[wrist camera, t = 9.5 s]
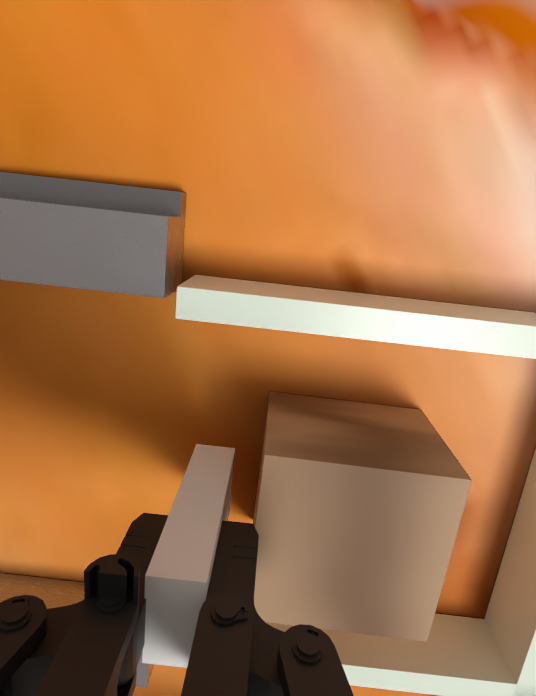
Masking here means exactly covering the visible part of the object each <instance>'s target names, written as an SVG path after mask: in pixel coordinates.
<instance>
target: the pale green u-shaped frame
mask: <svg viewBox="0 0 536 696" xmlns="http://www.w3.org/2000/svg"><path fill="white" fill-rule="evenodd" d="M176 319H185V320H194V321H202V322H211V323H220V324H229V325H238V326H247V327H256V328H265V329H274V330H283V331H292V332H301V333H310V334H319V335H327V336H336V337H345V338H354V339H363V340H372V341H381V342H390V343H399V344H408V345H417V346H426V347H435V348H443V349H452V350H461V351H470V352H479V353H488V354H497V355H506V356H515V357H524V358H533V359H536V313H535V312H526V311H517V310H508V309H499V308H490V307H481V306H472V305H463V304H454V303H445V302H436V301H427V300H418V299H409V298H400V297H391V296H382V295H373V294H364V293H356V292H347V291H338V290H329V289H320V288H311V287H302V286H293V285H284V284H275V283H266V282H257V281H248V280H239V279H230V278H221V277H212V276H203V275H194V276H193V277H191V278H190V279H188V280H186V281H185V282H183V283H182V284H180V285H179V286H177V298H176ZM266 623H267V624H269V625H270V626H272V627H274V628H276V629H279V630H281V631H283V632H285V631H287V630H288V629H289V628H290V627H292V626H293V625H285V624H277V623H268V622H266ZM321 630H322V631H323V632H325V633H326V634H327V635H328V636H329V637H330V639H331V640H332V642H333V644H334V645H335V648H336V650H337V653H338V656H339V658H340V661H341V664H342V666H343V669H344V672H345V674H346V677H347V680H348V682H349V685H353V686H362V687H370V688H379V689H388V690H397V691H405V692H414V693H423V694H432V695H440V696H536V449H535V452H534V455H533V459H532V462H531V465H530V469H529V472H528V475H527V479H526V482H525V485H524V489H523V492H522V495H521V499H520V502H519V505H518V509H517V512H516V515H515V519H514V522H513V525H512V529H511V532H510V535H509V539H508V542H507V545H506V549H505V552H504V555H503V558H502V562H501V565H500V568H499V572H498V575H497V578H496V582H495V585H494V588H493V592H492V595H491V598H490V602H489V605H488V608H487V612H486V615H485V618H484V619H479V618H471V617H462V616H453V615H444V614H435V615H434V619H433V622H432V626H431V630H430V633H429V637H428V641H427V642H424V641H416V640H408V639H399V638H391V637H383V636H375V635H367V634H359V633H350V632H342V631H334V630H326V629H321Z"/></svg>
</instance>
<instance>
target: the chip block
mask: <svg viewBox="0 0 536 696" xmlns="http://www.w3.org/2000/svg"><path fill="white" fill-rule="evenodd" d="M471 481H472V480H471V478H470V477H469V476H468V474H467V473H466V471H465V470H464V469H463V467H462V466H461V464H460V463H459V462H458V460H457V459H456V457H455V456H454V455H453V453H452V452H451V450H450V449H449V448H448V446H447V445H446V443H445V442H444V441H443V439H442V438H441V436H440V435H439V434H438V432H437V431H436V430H435V428H434V427H433V425H432V424H431V423H430V421H429V420H428V418H427V417H426V416H425V414H424V413H423V411H422V410H420V409H412V408H403V407H395V406H387V405H379V404H371V403H363V402H355V401H346V400H338V399H330V398H322V397H314V396H306V395H297V394H289V393H281V392H273V391H270V393H269V401H268V409H267V416H266V424H265V432H264V440H263V448H262V456H261V463H260V471H259V479H258V487H257V495H256V503H255V511H254V518H253V524H254V526H255V529H256V531H257V533H258V535H259V541H258V553H257V566H256V578H255V591H254V606H255V609H256V611H257V613H258V615H259V616H260V617H261V619H263V620H264V621H265V622H268V623H277V624H285V625H293V626H296V625H299V624H303V625H312V626H314V627H317V628H319V629H326V630H334V631H342V632H350V633H359V634H367V635H375V636H383V637H391V638H399V639H408V640H416V641H424V642H427V641H428V637H429V633H430V630H431V626H432V622H433V619H434V615H435V612H436V608H437V604H438V601H439V597H440V593H441V590H442V586H443V583H444V579H445V575H446V572H447V568H448V564H449V561H450V557H451V554H452V550H453V546H454V543H455V539H456V535H457V532H458V528H459V525H460V521H461V517H462V514H463V510H464V507H465V503H466V499H467V496H468V492H469V488H470V485H471Z"/></svg>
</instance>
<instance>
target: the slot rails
mask: <svg viewBox="0 0 536 696" xmlns="http://www.w3.org/2000/svg"><path fill="white" fill-rule="evenodd" d="M185 208H186V193H184V192H178V191H169V190H160V189H151V188H142V187H133V186H124V185H115V184H106V183H97V182H88V181H79V180H70V179H61V178H52V177H43V176H34V175H25V174H16V173H7V172H0V280H7V281H16V282H25V283H34V284H43V285H52V286H61V287H70V288H79V289H88V290H97V291H106V292H114V293H123V294H132V295H141V296H150V297H159V298H165V297H167V296H168V295H170V294H171V293H173V292H174V291H175V290H177V286H179V285H180V284H181V282H182V264H183V245H184V227H185ZM21 595H32V596H37V597H38V598H40V599H41V600H43V601H44V603H45V605H46V608H47V609H50V608H56V607H62V606H68V605H72V604H76V603H78V602H80V601H82V600H84V582H76V581H67V580H58V579H49V578H41V577H32V576H23V575H14V574H5V573H0V603H1V602H2V601H4V600H7V599H9V598H12V597H14V596H21ZM142 654H143V650H142V653H141V656H140V659H139V662H138V665H137V678H136V686H142V687H147V686H148V683H149V679H150V676H151V672H152V669H153V665H154V664H148V663H142Z"/></svg>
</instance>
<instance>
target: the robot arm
mask: <svg viewBox="0 0 536 696" xmlns="http://www.w3.org/2000/svg"><path fill="white" fill-rule="evenodd" d="M234 456H235V448H229V447H220V446H211V445H202V444H196V446H195V449H194V451H193V454H192V456H191V459H190V461H189V464H188V467H187V469H186V472H185V474H184V477H183V479H182V482H181V485H180V487H179V490H178V492H177V495H176V497H175V500H174V503H173V505H172V508H171V510H170V513H169V515H158V514H149V513H143V514H141V515H140V516H139V517H138V518H137V519H136V520H134V521H133V522H132V523H131V525H130V527H129V529H128V531H127V533H126V536H125V537H124V539H123V541H122V543H121V546H120V547H119V549H118V551H117V553H116V555H108V556H104V557H101V558H99V559H97V560H95V561H94V562H92V563H90V565H89V566H88V567H87V568H86V569H85V571H84V600H82V601H80V602H78V603H76V604H72V605H68V606H62V607H56V608H50V609H47V608H46V605H45V603H44V601H43V600H41V599H40V598H38V597H37V596H32V595H21V596H14V597H12V598H9V599H7V600H4V601H2V602H1V603H0V696H132V695H133V692H134V689H135V686H136V678H137V665H138V662H139V659H140V656H141V653H142V650H143V654H142V663H148V664H156V665H165V666H174V667H183V668H187V671H186V676H185V680H184V685H183V689H182V694H181V696H353V693H352V690H351V688H350V685H349V682H348V680H347V677H346V674H345V672H344V669H343V666H342V664H341V661H340V658H339V656H338V653H337V650H336V648H335V645H334V644H333V642H332V640H331V639H330V637H329V636H328V635H327V634H326V633H325V632H323V631H322V630H321V629H319V628H317V627H314V626H312V625H303V624H299V625H296V626H292V627H290V628H289V629H288V630H287V631H285V632H283V631H281V630H279V629H276V628H274V627H272V626H270V625H269V624H267V623H266V622H265V621H264V620H263V619H261V617H260V616H259V615H258V613H257V611H256V609H255V606H254V591H255V578H256V566H257V553H258V541H259V535H258V533H257V531H256V529H255V526H254V524H250V523H241V522H232V521H228V516H229V510H230V500H231V489H232V478H233V467H234Z"/></svg>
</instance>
